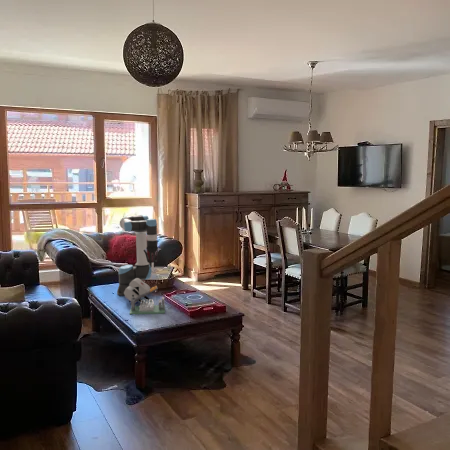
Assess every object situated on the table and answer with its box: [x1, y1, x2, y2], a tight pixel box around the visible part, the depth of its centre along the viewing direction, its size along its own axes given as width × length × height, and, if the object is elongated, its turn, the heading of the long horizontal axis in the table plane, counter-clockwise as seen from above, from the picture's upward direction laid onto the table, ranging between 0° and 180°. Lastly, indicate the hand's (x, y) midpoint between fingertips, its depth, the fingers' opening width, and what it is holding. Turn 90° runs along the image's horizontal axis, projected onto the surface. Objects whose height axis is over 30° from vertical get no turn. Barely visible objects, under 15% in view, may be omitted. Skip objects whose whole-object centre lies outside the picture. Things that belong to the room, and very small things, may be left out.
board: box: [129, 304, 166, 315], centre depth 342 cm, size 16×25×1 cm, turn 97°
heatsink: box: [139, 298, 155, 312], centre depth 341 cm, size 12×10×6 cm
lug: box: [158, 296, 165, 310], centre depth 342 cm, size 6×4×8 cm
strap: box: [133, 285, 158, 302], centre depth 340 cm, size 6×21×2 cm, turn 97°
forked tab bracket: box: [130, 298, 136, 311], centre depth 340 cm, size 7×2×8 cm, turn 7°
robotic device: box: [124, 278, 152, 304], centre depth 358 cm, size 10×21×20 cm
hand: (152, 271), depth 341 cm, fingers closed
